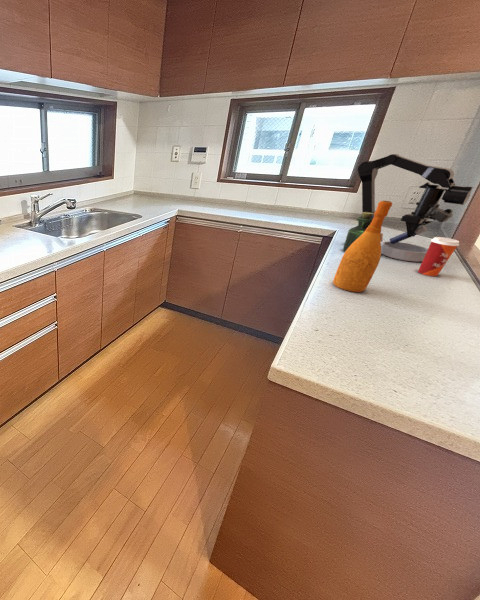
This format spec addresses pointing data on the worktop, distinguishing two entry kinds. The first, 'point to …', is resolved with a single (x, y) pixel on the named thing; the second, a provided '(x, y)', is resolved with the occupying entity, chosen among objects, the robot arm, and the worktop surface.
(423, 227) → the rod
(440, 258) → the paper cup
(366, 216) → the potion bottle
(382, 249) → the dish
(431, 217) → the robot arm
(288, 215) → the worktop surface
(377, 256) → the wine bottle
